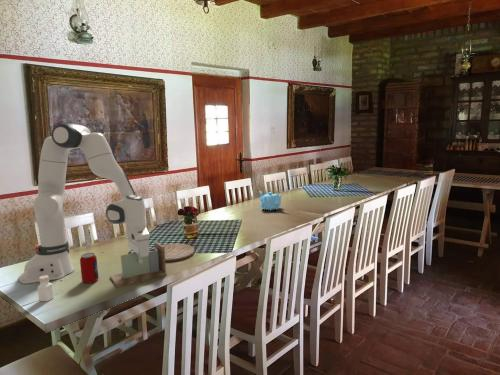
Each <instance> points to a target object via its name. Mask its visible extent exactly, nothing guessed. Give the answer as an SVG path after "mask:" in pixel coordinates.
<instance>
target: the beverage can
mask: <svg viewBox="0 0 500 375" xmlns="http://www.w3.org/2000/svg"><path fill="white" fill-rule="evenodd" d="M79 264H80V273H81V274H80V275H81V280H82V282H83V283H85V284H92V283H95V282H97V280H99V269H98V259H97V256H96V255H95V253H94V252H87V253H83V254H82V255H81V256H80V258H79Z"/></svg>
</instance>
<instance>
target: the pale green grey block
mask: <svg viewBox="0 0 500 375" xmlns="http://www.w3.org/2000/svg"><path fill="white" fill-rule="evenodd" d="M152 248H153V249H151V248H149V255H148V256H147V257H143V263H138V255H137V254H136V253H126V254H123V255H120V263H121V273H122V277H123V278H124V279H125V278H129V277H133V276H137V275H142V274H146V273H150V272H151V273H153V272H157V271H159V260H158V250H157V249H156V248H154V247H152Z"/></svg>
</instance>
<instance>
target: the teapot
mask: <svg viewBox="0 0 500 375" xmlns="http://www.w3.org/2000/svg"><path fill="white" fill-rule="evenodd" d="M259 194H260V196H259V200H260V202H259V206H260V208H261V209H262V210H263V209H266V210H268V211H269V210H272V211H273V210H275V209H278V210H279V208H280V207H281V203H282V196H283V194H281V195H279V194H278V193H273V192H272V191H270V192H269V191H268V192H267V193H266V194H263V192H262V191H261V190H259Z"/></svg>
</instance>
